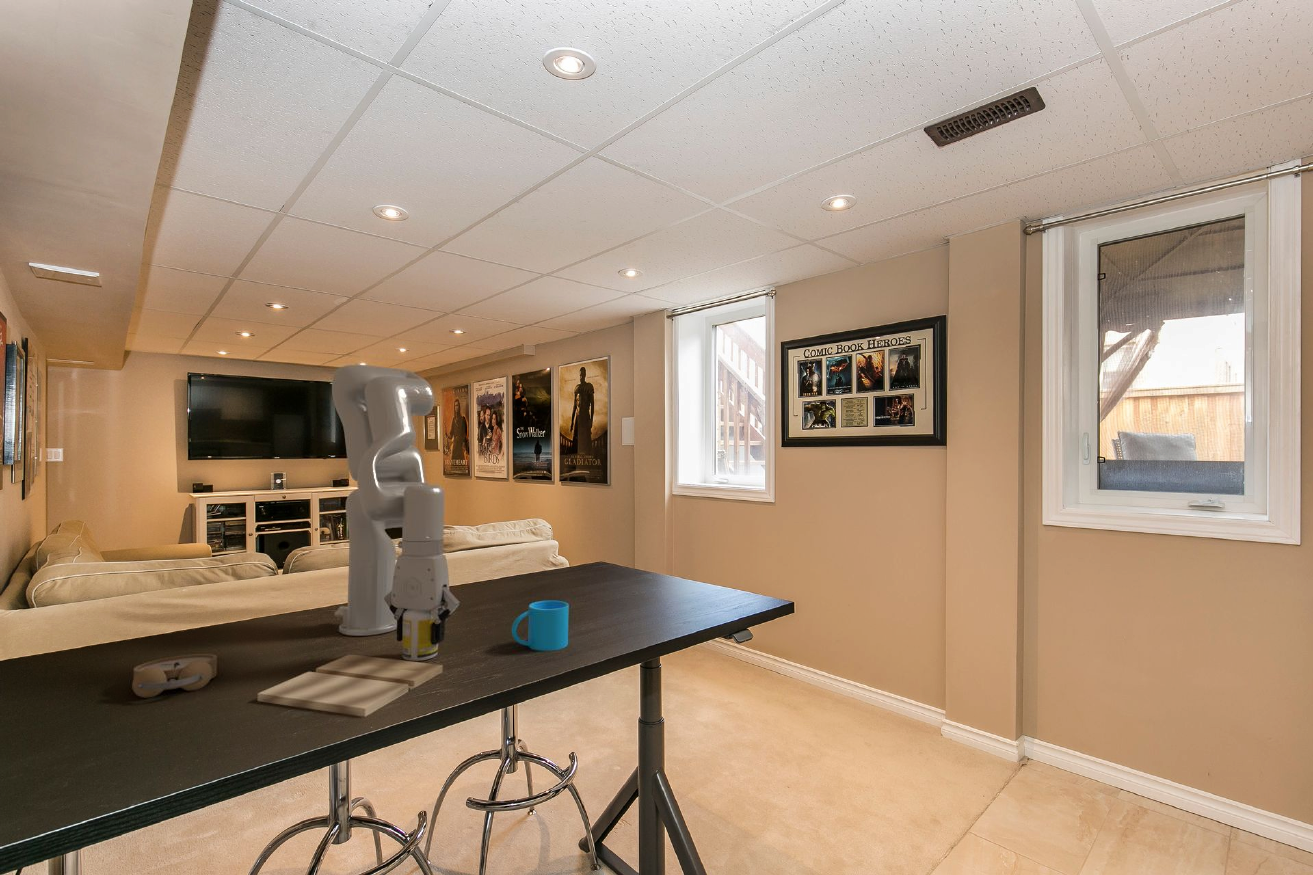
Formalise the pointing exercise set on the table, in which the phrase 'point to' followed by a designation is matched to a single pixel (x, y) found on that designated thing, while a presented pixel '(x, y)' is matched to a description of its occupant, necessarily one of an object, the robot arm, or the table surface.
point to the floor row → (382, 669)
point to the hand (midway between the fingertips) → (420, 640)
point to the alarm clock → (174, 674)
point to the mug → (545, 626)
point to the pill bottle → (417, 635)
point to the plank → (334, 693)
